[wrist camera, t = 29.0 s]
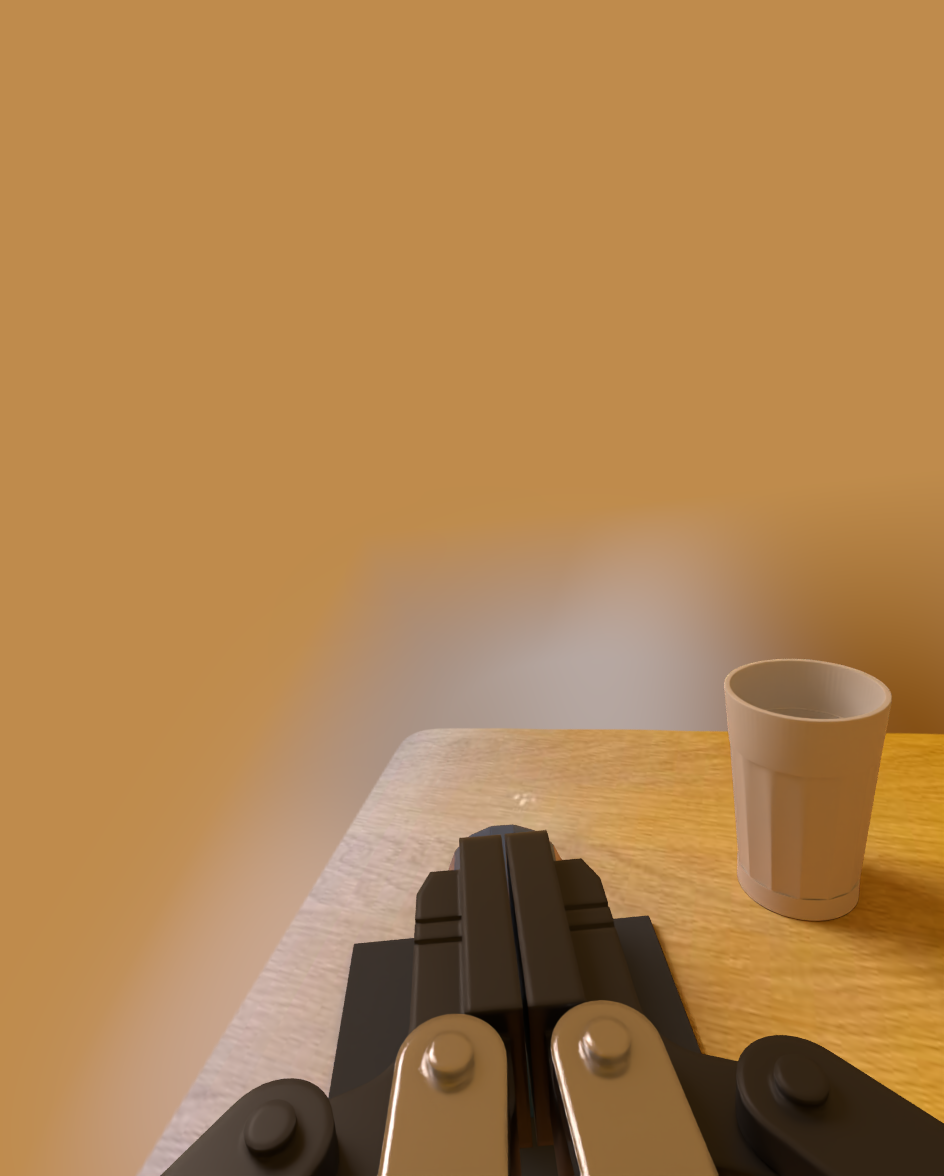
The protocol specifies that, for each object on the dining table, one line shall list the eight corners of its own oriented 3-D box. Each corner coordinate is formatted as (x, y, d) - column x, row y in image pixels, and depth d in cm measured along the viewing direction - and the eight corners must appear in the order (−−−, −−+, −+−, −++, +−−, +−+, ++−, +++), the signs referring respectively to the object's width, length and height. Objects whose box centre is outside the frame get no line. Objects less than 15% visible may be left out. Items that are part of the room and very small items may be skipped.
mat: (281, 1400, 22) (279, 1392, 22) (354, 949, 39) (353, 943, 39) (809, 1347, 22) (810, 1337, 22) (648, 921, 39) (648, 915, 39)
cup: (692, 866, 43) (692, 680, 40) (790, 823, 46) (797, 648, 43) (804, 953, 36) (814, 737, 33) (909, 896, 39) (928, 693, 36)
